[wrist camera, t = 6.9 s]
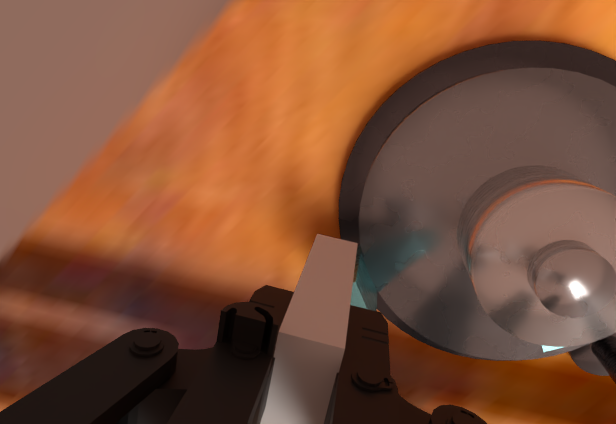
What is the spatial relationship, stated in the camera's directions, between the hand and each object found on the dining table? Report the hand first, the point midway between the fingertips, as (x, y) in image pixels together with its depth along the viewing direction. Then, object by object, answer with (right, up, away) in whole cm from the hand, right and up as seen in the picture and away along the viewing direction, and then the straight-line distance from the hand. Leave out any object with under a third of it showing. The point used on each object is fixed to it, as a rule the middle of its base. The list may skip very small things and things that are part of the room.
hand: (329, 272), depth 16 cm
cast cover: (+12, +1, +10) cm, 15 cm away
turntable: (+10, +1, +12) cm, 16 cm away
